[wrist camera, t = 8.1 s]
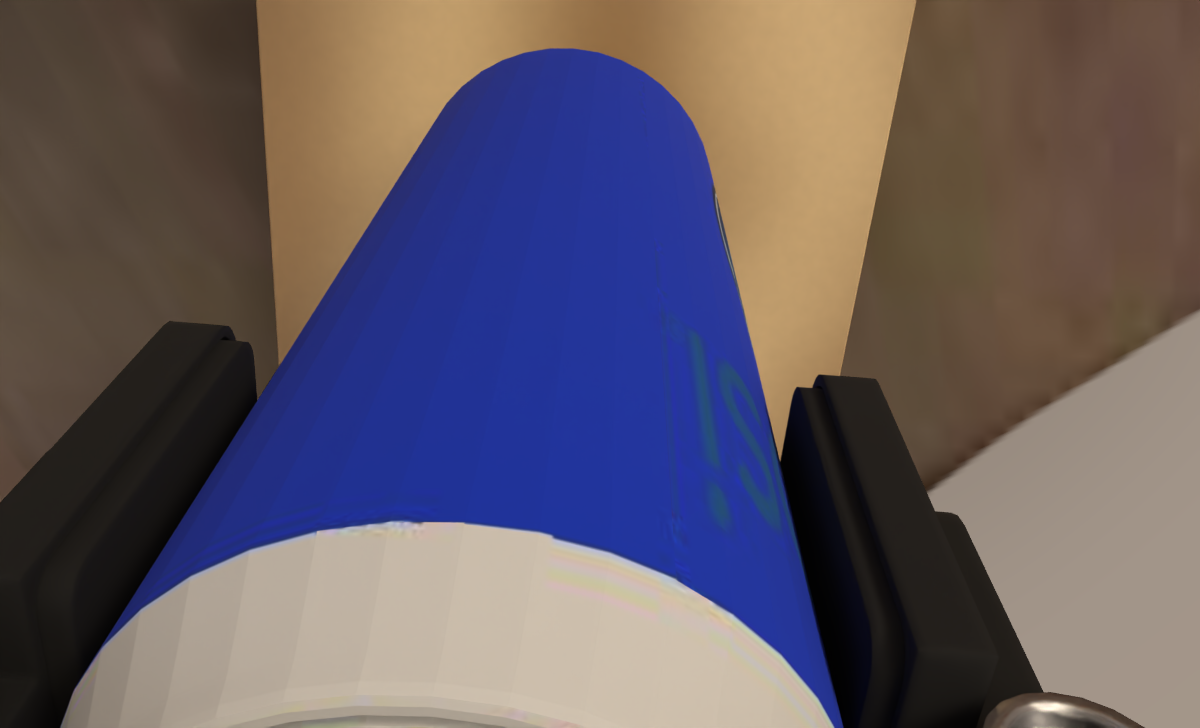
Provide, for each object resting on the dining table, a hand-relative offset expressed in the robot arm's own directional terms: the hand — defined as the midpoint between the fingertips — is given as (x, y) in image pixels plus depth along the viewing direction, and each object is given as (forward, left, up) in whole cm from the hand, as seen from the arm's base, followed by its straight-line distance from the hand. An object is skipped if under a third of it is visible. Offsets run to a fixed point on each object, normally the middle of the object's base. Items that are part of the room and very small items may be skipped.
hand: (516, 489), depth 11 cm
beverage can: (0, 0, -10) cm, 10 cm away
